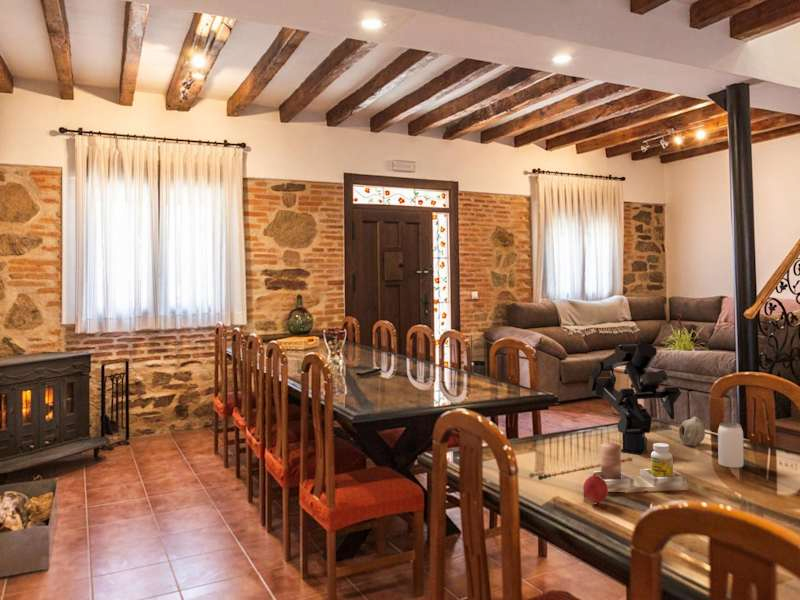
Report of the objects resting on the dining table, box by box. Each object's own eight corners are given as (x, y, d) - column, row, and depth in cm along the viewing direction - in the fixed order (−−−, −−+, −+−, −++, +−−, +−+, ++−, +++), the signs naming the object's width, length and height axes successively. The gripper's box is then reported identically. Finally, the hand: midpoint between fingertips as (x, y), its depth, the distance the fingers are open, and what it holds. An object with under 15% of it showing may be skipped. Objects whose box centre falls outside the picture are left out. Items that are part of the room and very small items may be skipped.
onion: (579, 500, 154) (579, 469, 153) (602, 499, 154) (601, 468, 154) (589, 509, 148) (588, 476, 148) (612, 507, 148) (611, 475, 148)
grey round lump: (689, 448, 208) (689, 419, 210) (712, 449, 200) (712, 419, 203) (671, 443, 203) (672, 413, 206) (694, 444, 196) (695, 413, 199)
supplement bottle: (675, 479, 164) (675, 444, 164) (669, 484, 160) (669, 448, 160) (655, 475, 168) (654, 441, 168) (648, 481, 164) (647, 445, 164)
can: (746, 469, 176) (746, 427, 175) (722, 468, 177) (721, 427, 177) (739, 462, 182) (738, 422, 182) (715, 461, 183) (714, 422, 183)
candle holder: (600, 493, 159) (599, 450, 158) (587, 482, 168) (587, 441, 167) (688, 489, 160) (687, 447, 159) (671, 478, 169) (670, 438, 168)
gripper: (619, 362, 185) (637, 405, 175) (677, 360, 187) (699, 402, 177) (608, 384, 193) (625, 426, 183) (664, 381, 195) (684, 423, 185)
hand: (658, 419), depth 181 cm, fingers open, 9 cm apart
